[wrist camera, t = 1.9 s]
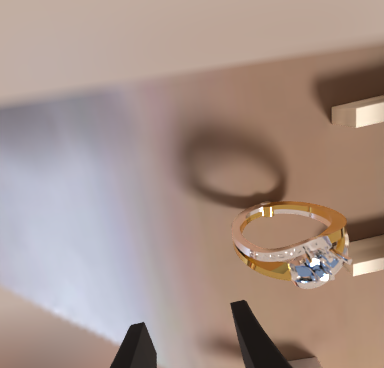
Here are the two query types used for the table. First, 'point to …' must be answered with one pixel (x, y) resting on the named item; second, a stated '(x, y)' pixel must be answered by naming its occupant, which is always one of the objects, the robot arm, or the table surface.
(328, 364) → the table surface
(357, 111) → the keeper
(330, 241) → the ring
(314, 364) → the lighter
